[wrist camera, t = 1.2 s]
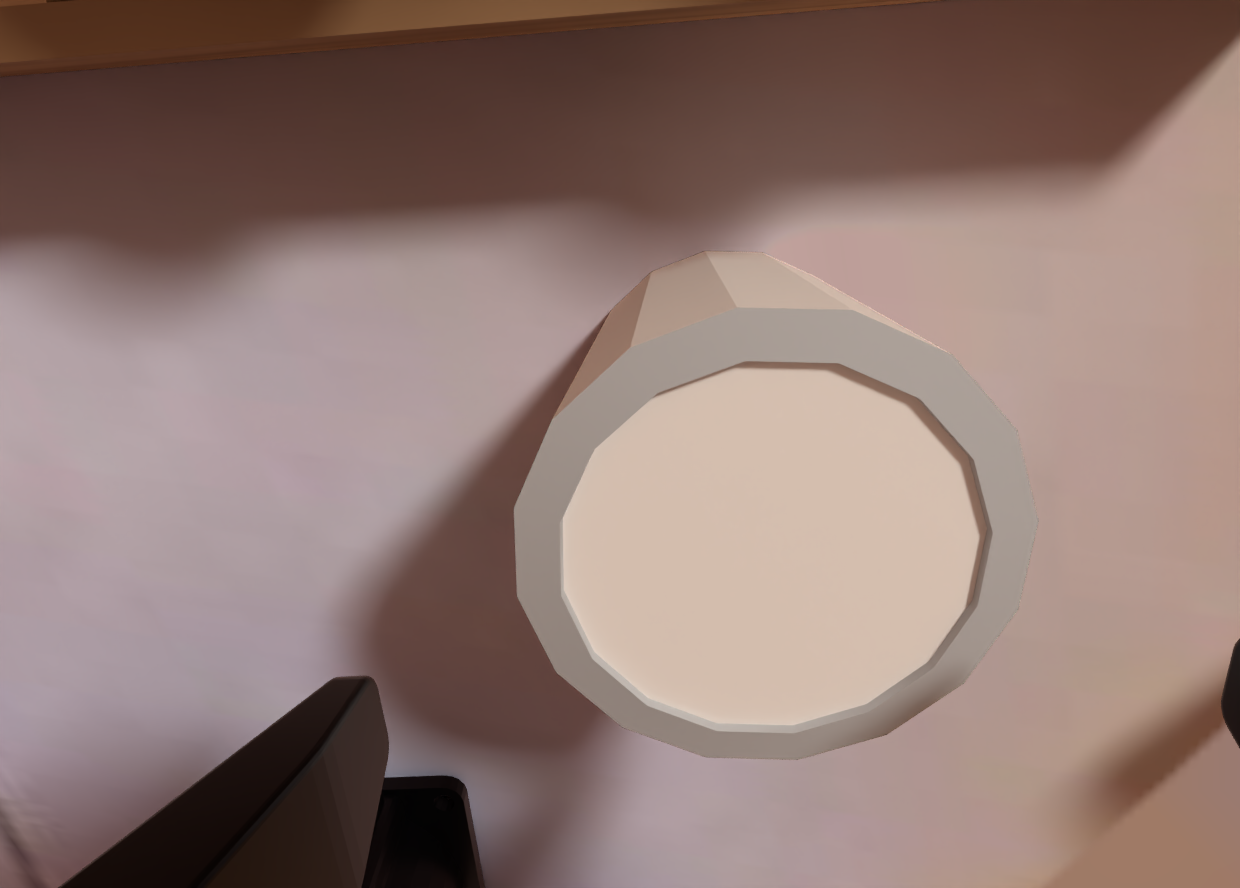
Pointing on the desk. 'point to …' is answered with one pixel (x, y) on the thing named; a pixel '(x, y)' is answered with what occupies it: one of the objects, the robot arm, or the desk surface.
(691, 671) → the shot glass
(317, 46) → the rack
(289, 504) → the desk surface
